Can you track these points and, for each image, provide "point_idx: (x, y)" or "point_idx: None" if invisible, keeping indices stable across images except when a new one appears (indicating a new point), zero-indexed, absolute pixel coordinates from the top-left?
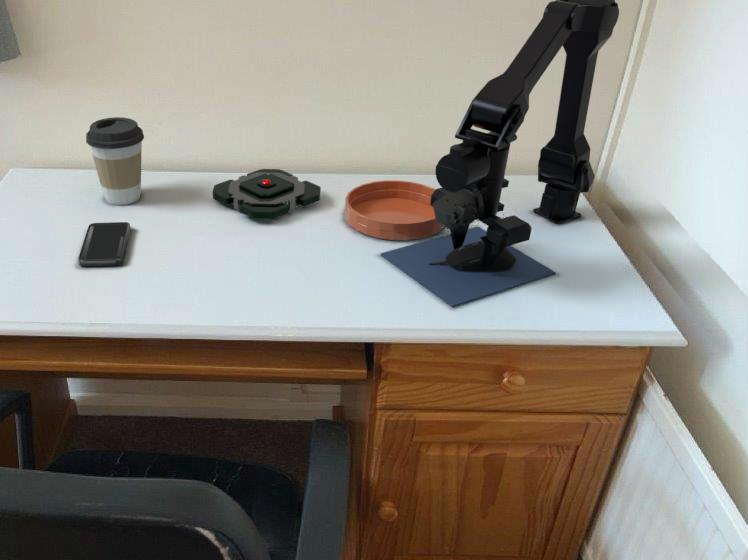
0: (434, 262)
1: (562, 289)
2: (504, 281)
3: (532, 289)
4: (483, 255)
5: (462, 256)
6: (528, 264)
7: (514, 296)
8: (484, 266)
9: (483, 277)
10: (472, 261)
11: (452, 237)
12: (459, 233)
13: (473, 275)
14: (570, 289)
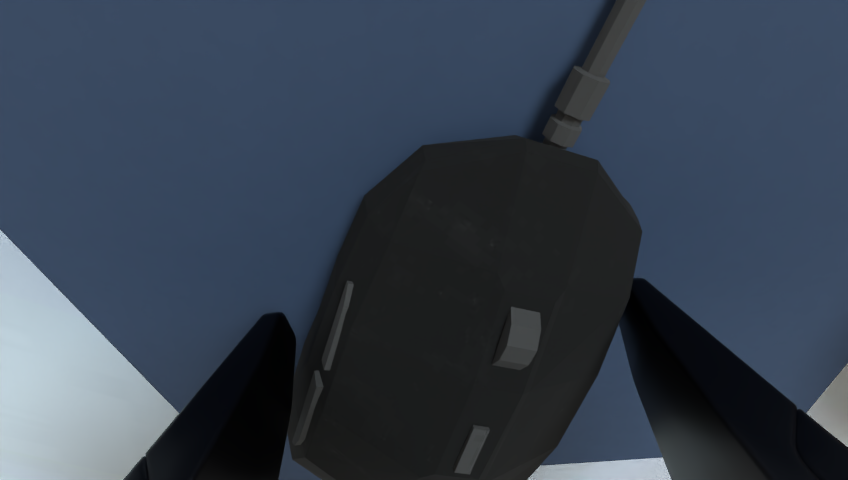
0: (623, 15)
1: (119, 453)
2: (175, 336)
3: (114, 389)
4: (217, 429)
5: (439, 285)
6: None
7: (13, 305)
8: (244, 340)
9: (246, 268)
10: (342, 309)
11: (733, 373)
12: (702, 453)
13: (290, 228)
14: (120, 467)
